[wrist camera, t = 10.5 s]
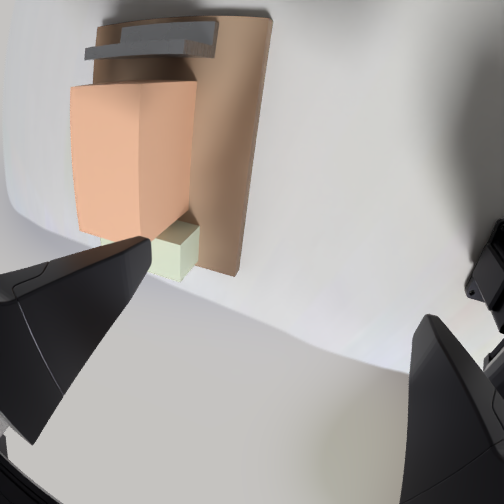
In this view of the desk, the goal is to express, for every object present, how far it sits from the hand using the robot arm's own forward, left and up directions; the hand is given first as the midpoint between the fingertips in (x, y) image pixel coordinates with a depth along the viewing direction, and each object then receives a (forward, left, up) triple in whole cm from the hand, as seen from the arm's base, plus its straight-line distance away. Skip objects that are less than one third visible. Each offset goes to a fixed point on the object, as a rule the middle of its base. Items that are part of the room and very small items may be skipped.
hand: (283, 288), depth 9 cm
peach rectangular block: (+11, 0, -11) cm, 15 cm away
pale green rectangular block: (+11, +7, -12) cm, 18 cm away
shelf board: (+11, 0, -12) cm, 16 cm away
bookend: (+11, -8, -11) cm, 17 cm away
